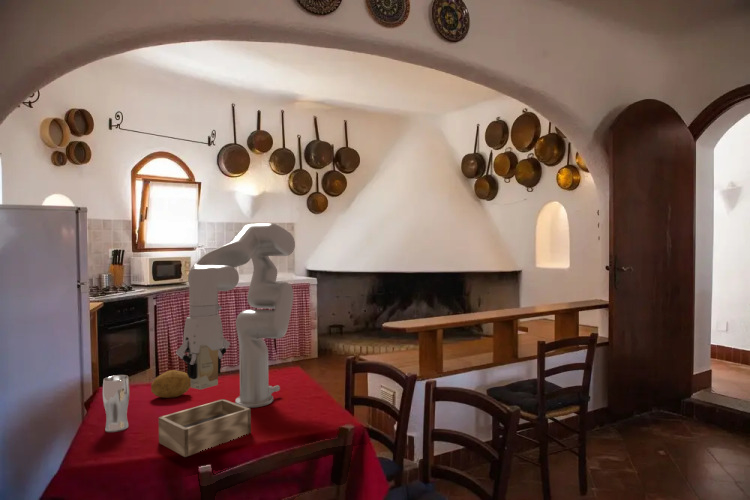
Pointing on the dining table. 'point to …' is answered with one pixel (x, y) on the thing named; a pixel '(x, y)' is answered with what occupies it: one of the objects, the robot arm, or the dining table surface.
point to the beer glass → (116, 402)
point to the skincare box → (206, 368)
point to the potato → (171, 384)
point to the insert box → (204, 426)
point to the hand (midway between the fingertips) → (204, 374)
